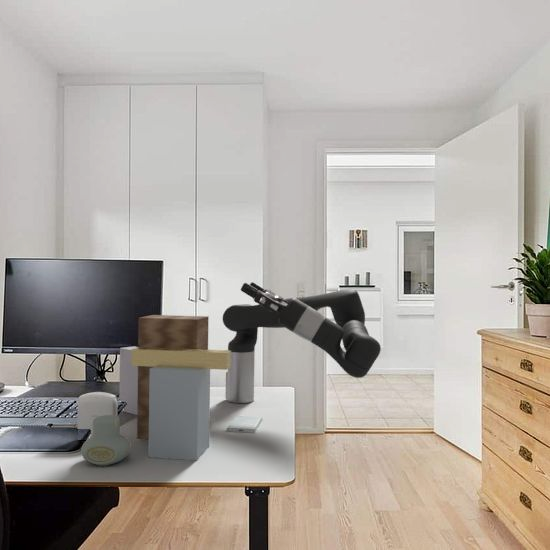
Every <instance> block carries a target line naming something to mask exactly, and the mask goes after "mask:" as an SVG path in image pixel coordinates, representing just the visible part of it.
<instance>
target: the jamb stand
mask: <svg viewBox="0 0 550 550" xmlns="http://www.w3.org/2000/svg"><path fill="white" fill-rule="evenodd" d="M137 338H138V341H137V343H138V345H137V347H149V348H176V349H202V350H209V316H206V315H205V316H203V315H172V314H171V315H168V314H167V315H165V314H164V315H162V314H152V315H151V314H150V315H146V316H142V317H141V316H140V317H138V335H137ZM150 368H153V367H152V366H138V400H137V415H136V417H137V418H136V419H137V420H136V421H137V422H136V425H137V426H136V440H137V441H148V442H149V381H150Z"/></svg>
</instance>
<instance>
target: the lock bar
mask: <svg viewBox="0 0 550 550" xmlns="http://www.w3.org/2000/svg"><path fill="white" fill-rule="evenodd" d="M136 347H137V348H134V349H132V363H131V366H152V367H175V368H198V369H210V370H224V371H225V370H226V371H228V368H230V367H231V351H229V350H228V349H227V350H222V349H208V350H202V349H176V348H149V347H138V346H136Z"/></svg>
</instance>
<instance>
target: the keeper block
mask: <svg viewBox="0 0 550 550" xmlns="http://www.w3.org/2000/svg"><path fill="white" fill-rule="evenodd" d="M210 398H211V369H198V368H175V367H153V368H150V381H149V441H148V458H154V457H156V458H157V457H159V458H157V459H168V458H172V459H171V460H182V459H184V460H183V461H185V460H186V461H196V460H197V461H198V460H199V459H200V458H201V457H202V456H203V454H204V453H205V452H206V451H207V450H208V449H209V448H210V419H211V418H210V411H211V410H210V409H211V407H210V405H211V403H210V402H211V399H210ZM207 448H208V449H207ZM206 449H207V450H206ZM205 450H206V451H205ZM201 455H202V456H201ZM200 456H201V457H200ZM199 457H200V458H199Z"/></svg>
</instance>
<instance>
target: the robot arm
mask: <svg viewBox="0 0 550 550" xmlns="http://www.w3.org/2000/svg"><path fill="white" fill-rule="evenodd" d="M240 291H241V292H242V293H244V294H245V295H247V296H249V297H251V298H252V300H253V301H254V302H255V303H256V305H252V304H249V303H247V304H244V303H243V304H233V305H231V306H228V307H227V308H226V309H225V311H224V312H223V314H222V323H223V325H224V326H225V328H226V329H228V330H229V331H231V332H234V333H235V335H234V337H233V339H232V340H230V341H229V342H228V343H227V344H228V345H227V350H229V351H231V367H230V368H228V369H227V371H226V372H225V400H226V401H228V402H229V403H233V404H246V403H252V402H254V400H255V350H256V348H255V347H256V344H257V342H258V341H257V340H258V334H259V333H258V331H259V330H258V329H259V328H268V329H269V328H270V329H271V328H272V329H273V328H274V329H275V328H277V329H278V328H279V329H281V328H282V329H284V328H285V329H287V330H289V331H290V332H292V333H293V334H295V335H296V336H298V337H299V338H301V339H303V340H306V341H308V342H309V343H311V344H313V345H315V346H316V347H318V348H320V349H321V350H323V351H324V352H325V353H326V354H328V355H329V356H330V357H331V358H332V359H333V360H334V361H335V362H336V363H337V364H338V365H339V366H340V368H341V369H342V370H343V371H344V372H345V373H346V374H347V375H349V376H350V377H353V378H358V379H361V378H364V377H365V376H367V374H368V373H369V371H370V370H371V368H372V367H373V365H374V363H375V362H376V360H377V358H378V357H379V355H380V354H381V350H382V349H381V348H382V347H381V344H380V343H379V341H378V340H377V339H376V338H374V337H372V336H370V334H369V331H368V328H367V327H366V325H365V323H366V313H365V309H364V305H363V304H362V300H361V297H360V294H359V292H358V291H357V290H355V289H351V288H350V289H348V288H347V289H342V290H336V291H332V292H331V291H330V292H328V293H322V294H317V295H309V296H302V297H299V296H298V297H291V298H290V297H289V298H283V297H282V296H280V295H278V294H277V293H275V292H274V291H272V290H269V289H266V288H263V287H262V286H260V285H258V284H257V283H255V282H250V283H247V282H244V283H243V284H242V286H241V288H240ZM323 308H330V310H331V313H332V317H333V319H334V321H332V320H330V319H329V318H327V317H326V316H324V315H323V314H322V313H321V312H319V310H320V309H323ZM341 342H342V345H343V348H344V350H345V351H344V350H343V348H342V346H341Z"/></svg>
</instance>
